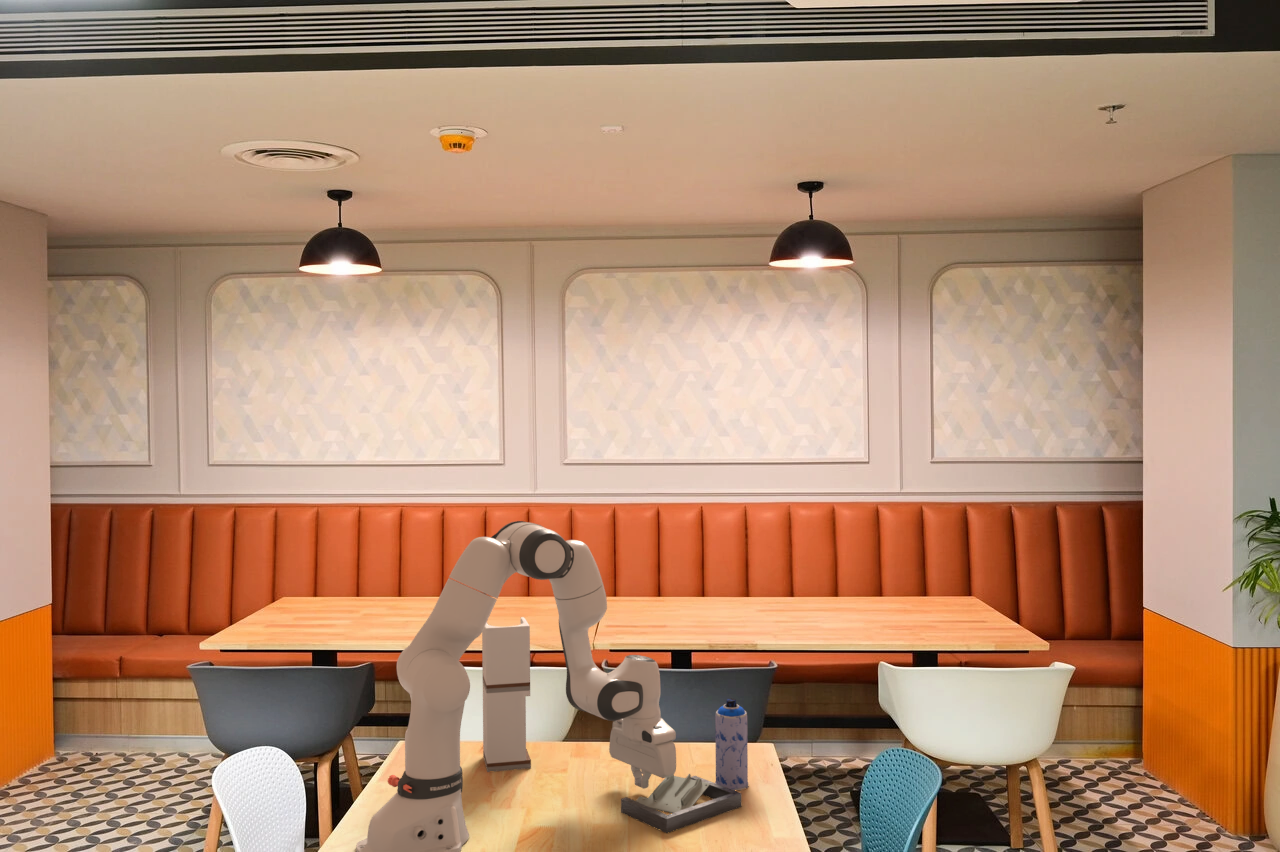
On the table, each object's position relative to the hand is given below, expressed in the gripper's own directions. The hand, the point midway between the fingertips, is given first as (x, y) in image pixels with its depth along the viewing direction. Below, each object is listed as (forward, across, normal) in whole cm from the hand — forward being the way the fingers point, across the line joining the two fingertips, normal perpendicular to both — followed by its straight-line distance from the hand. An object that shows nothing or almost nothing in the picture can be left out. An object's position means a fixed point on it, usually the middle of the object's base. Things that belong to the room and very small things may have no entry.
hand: (641, 786), depth 239 cm
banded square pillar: (+2, -38, -12) cm, 40 cm away
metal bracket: (+2, +9, +2) cm, 10 cm away
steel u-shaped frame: (+2, +13, 0) cm, 13 cm away
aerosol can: (+2, +10, +19) cm, 22 cm away
